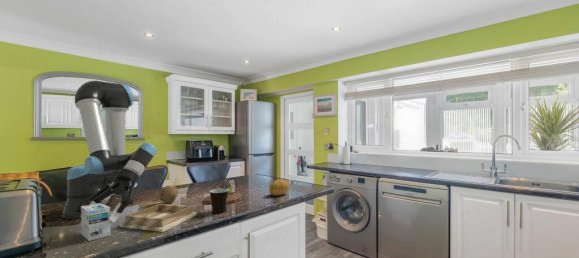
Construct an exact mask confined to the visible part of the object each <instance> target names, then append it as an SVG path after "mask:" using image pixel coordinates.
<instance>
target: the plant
mask: <svg viewBox="0 0 579 258" xmlns="http://www.w3.org/2000/svg"><path fill="white" fill-rule="evenodd" d="M225 183H227V180H226V179H224V180H223V182H222V185H221V184H219V185H218V186H217V187H216V189H228V199H227V205H231V204H233V205H234V204H236V203H238V202H241V199H242V196H243V194H242V193H240V192H236V191H233V190H232V188H233V186H232V185H231V184H228V185H226V186H225ZM228 187H229V188H228ZM203 199H204V201H203V202H204V204H205V205H212V204H211V196H210V195H208V196H205V197H204V198H203Z"/></svg>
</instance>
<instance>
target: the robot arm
mask: <svg viewBox="0 0 579 258" xmlns="http://www.w3.org/2000/svg"><path fill="white" fill-rule="evenodd" d="M134 98H135V95H134V92H133V90H132V88H131V87H130V86H129V85H126V84H122V83H118V82H117V83H116V82H109V81H108V82H107V81H101V80H90V81H89V80H88V81H86V82H85V83H83V84H82V85H80V86H79V87H78V88H77V90H76V92H75V95H74V104H75V105H74V106H75V107H76V108H77V109H78V110H79V114H80V119H81V123H82V128H83V130H84V136H85V141H86V144H87V150H88V154H89V156H87V157H86V158H85V160H84V164H80V165H76V166H73V167H70V168H69V169H68V170H67V177H66V180H67V181H66V182H67V185H66V186H67V188H66V189H67V193H66V195H67V196H66V197H67V200H66V203H65V205H64V208H63V211H62V217H61V218H63V219H67V220H75V219H81V206H86V205H92V204H98V203H102V201H104V200H106V199H107V198H109V197H110V196H112V195H115V194H120V195H121V199H120V202H118V203H117V205H116V206H115V208H114V210H113V211H112V212H111V213H110V217H109V218H108V219H109V220H110V222H111V223H115V222H116V221H117V219H118V218H119V216H120V215H121V214H122V213H123V212H124V210H125V209H126V207H128V206H129V205H130V206H133V205H134V202H135V197H136V190H137V189H138V186H139V184H138V183H137V181H138V180H139V178H140V177H141V175H142V174H143V172H144V171H145V170H146V169H147V167H148V165H149V164H150V162H151V161H152V160H153V158H154V157H155V155H156V154H157V151H158V149H157V147H156V146H154V145H153V144H151V143H149V142H143V143H141V145H139V146H138V148H137V149H136V150H135V151H133V152H131V153H126V112H128V111H129V109H130V107H132V105H134V101H135V99H134ZM100 107H101V108H102V110H103V111H104V112H105V123H104V120H103V117H102V112H101V109H100ZM104 124H105V125H104Z"/></svg>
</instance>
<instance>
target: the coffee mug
mask: <svg viewBox="0 0 579 258" xmlns="http://www.w3.org/2000/svg"><path fill="white" fill-rule="evenodd" d="M209 196H211V204H210V205H211V211H212V213H213V214H223V213H226V212H227V207H228V206H227V205H228V204H227V199H228V188H226V189H221V188H219V189H217V188H215V189H211V190H209Z"/></svg>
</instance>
